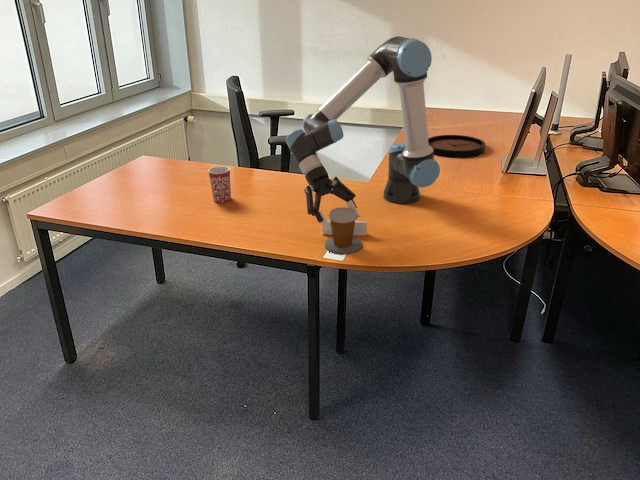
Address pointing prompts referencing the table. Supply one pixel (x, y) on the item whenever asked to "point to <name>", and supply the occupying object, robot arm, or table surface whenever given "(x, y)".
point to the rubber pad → (352, 249)
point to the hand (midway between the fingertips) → (343, 223)
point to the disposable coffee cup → (342, 226)
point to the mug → (220, 183)
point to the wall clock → (456, 146)
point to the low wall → (359, 228)
